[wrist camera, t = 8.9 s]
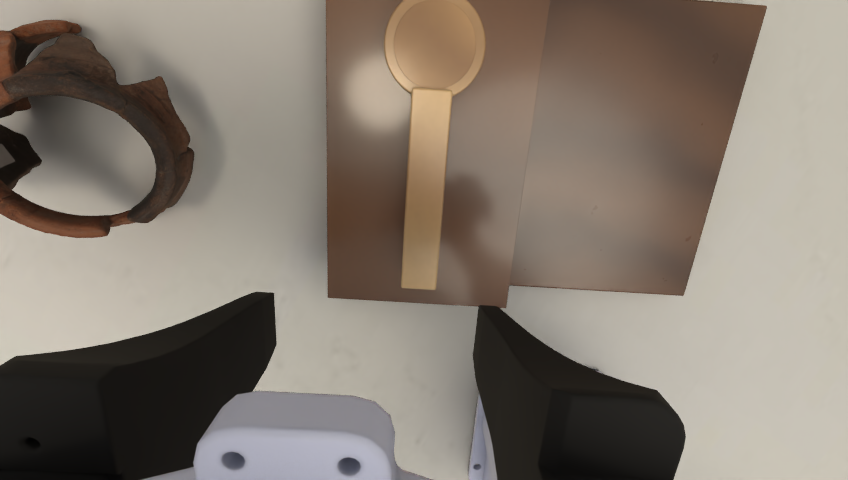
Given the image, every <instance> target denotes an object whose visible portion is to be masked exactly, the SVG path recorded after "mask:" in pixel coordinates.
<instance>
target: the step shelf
mask: <svg viewBox="0 0 848 480" xmlns="http://www.w3.org/2000/svg"><path fill="white" fill-rule="evenodd" d="M402 1H403V0H326V89H327V253H328V298H342V299H359V300H376V301H393V302H410V303H427V304H444V305H461V306H479V305H488V306H497V307H499V308H506V304H507V297H508V290H509V285H513V286H530V287H547V288H563V289H580V290H597V291H613V292H630V293H647V294H663V295H680V296H683V295H684V292H685V289H686V286H687V282H688V279H689V275H690V272H691V268H692V265H693V261H694V258H695V254H696V251H697V248H698V244H699V241H700V237H701V234H702V230H703V227H704V223H705V220H706V216H707V213H708V209H709V206H710V203H711V199H712V196H713V192H714V189H715V185H716V182H717V178H718V175H719V171H720V168H721V164H722V161H723V158H724V154H725V151H726V147H727V144H728V140H729V137H730V133H731V130H732V126H733V123H734V119H735V116H736V113H737V109H738V106H739V102H740V99H741V95H742V92H743V88H744V85H745V81H746V78H747V75H748V71H749V68H750V64H751V61H752V57H753V54H754V50H755V47H756V43H757V40H758V36H759V33H760V30H761V26H762V23H763V19H764V16H765V12H766V9H767V6H764V5H751V4H738V3H725V2H713V1H700V0H467V1H468V2H469V3H470V4H471V5H472V6H473V7H474V8H475V10H476V11H477V13H478V15H479V17H480V19H481V21H482V24H483V27H484V31H485V38H486V50H485V56H484V60H483V64H482V66H481V68H480V71H479V73H478V74H477V76H476V78H475V79H474V80H473V81H472V83H471V84H470V85H469V86H468V87H467V88H466V89H464V90H463V91H462V92H460V93H458V94H457V95H455V96H453V97H452V106H451V118H450V130H449V142H448V154H447V166H446V178H445V190H444V202H443V214H442V226H441V238H440V250H439V262H438V274H437V286H436V289H435V290H426V289H409V288H402V287H401V275H402V256H403V238H404V219H405V201H406V182H407V164H408V145H409V127H410V108H411V94H410V93H408V92H407V91H405V90H404V89H403V88H402V87H401V86H400V85H399V84H398V83H397V81H396V80H395V79H394V77H393V76H392V74H391V72H390V70H389V68H388V65H387V62H386V59H385V54H384V35H385V30H386V26H387V23H388V21H389V19H390V17H391V15H392V13H393V11H394V10H395V8H396V7H397V6H398V5H399V4H400V3H401V2H402Z"/></svg>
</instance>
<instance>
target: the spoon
mask: <svg viewBox="0 0 848 480" xmlns="http://www.w3.org/2000/svg"><path fill="white" fill-rule="evenodd" d="M485 50H486V38H485V31H484V27H483V24H482V21H481V19H480V17H479V15H478V13H477V11H476V10H475V8H474V7H473V6H472V5H471V4H470V3H469V2H468V1H467V0H403V1H402V2H401V3H400V4H399V5H398V6H397V7H396V8H395V10H394V11H393V13H392V15H391V17H390V19H389V21H388V23H387V26H386V30H385V35H384V54H385V59H386V62H387V65H388V68H389V70H390V72H391V74H392V76H393V77H394V79H395V80H396V81H397V83H398V84H399V85H400V86H401V87H402V88H403V89H404V90H405V91H407V92H408V93H410V94H411V108H410V127H409V145H408V164H407V182H406V201H405V219H404V238H403V256H402V275H401V287H402V288H409V289H426V290H435V289H436V286H437V274H438V262H439V250H440V238H441V226H442V214H443V202H444V190H445V178H446V166H447V154H448V142H449V130H450V118H451V106H452V97H453V96H455V95H457V94H458V93H460V92H462V91H463V90H464V89H466V88H467V87H468V86H469V85H470V84H471V83H472V81H473V80H474V79H475V78H476V76H477V74H478V73H479V71H480V68H481V66H482V64H483V60H484V56H485Z"/></svg>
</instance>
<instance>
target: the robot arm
mask: <svg viewBox="0 0 848 480" xmlns="http://www.w3.org/2000/svg"><path fill="white" fill-rule="evenodd" d="M275 347H276V326H275V307H274V293H267V292H254V293H251V294H248V295H246V296H243V297H241V298H239V299H236V300H234V301H232V302H230V303H227V304H225V305H223V306H221V307H218V308H216V309H214V310H212V311H210V312H207V313H205V314H202V315H200V316H197V317H195V318H192V319H190V320H187V321H185V322H182V323H180V324H177V325H174V326H171V327H168V328H165V329H162V330H159V331H156V332H153V333H149V334H146V335H142V336H138V337H134V338H130V339H126V340H122V341H117V342H113V343H108V344H103V345H98V346H93V347H87V348H81V349H75V350H68V351H60V352H52V353H43V354H34V355H24V356H16V357H14V358H12V359H10V360H9V361H7V362H5V363H4V364H2V365H0V480H432V479H429V478H426V477H423V476H420V475H417V474H414V473H411V472H408V471H405V470H402V469H401V468H400V467H398V466H397V464H396V462H395V457H394V441H395V431H394V427H393V424H392V420H391V416H390V415H389V414H388V413H387V412H386V411H385V410H384V409H383V408H381V407H380V406H379V405H378V404H377V403H376V402H374V401H371V400H367V399H363V398H360V397H356V396H347V395H328V394H309V393H290V392H271V391H255V392H252V391H253V389H254V388H255V386H256V385H257V383H258V381H259V380H260V378H261V376H262V375H263V373H264V371H265V370H266V368H267V366H268V363H269V361H270V359H271V357H272V354H273V352H274V349H275ZM473 360H474V369H475V377H476V382H477V386H478V390H479V393H478V401H477V409H476V416H475V424H474V432H473V440H472V447H471V455H470V463H469V470H468V476H469V480H673V479H674V476H675V473H676V470H677V467H678V464H679V461H680V458H681V455H682V452H683V449H684V443H685V437H686V436H685V430H684V425H683V423H682V421H681V419H680V418H679V416H678V414H677V413H676V412H675V411H674V410H673V408H672V407H671V406H670V405H669V404H668V403H667V401H666V400H665V399H664V398H663V397H662V395H661V394H660V393H659V392H658V391H657V390H653V389H650V388H646V387H643V386H639V385H635V384H632V383H628V382H625V381H621V380H619V379H616V378H613V377H610V376H607V375H605V374H603V373H601V372H599V371H595V370H592V369H590V368H588V367H586V366H583V365H581V364H579V363H577V362H575V361H573V360H571V359H569V358H567V357H565V356H564V355H562V354H560V353H558V352H557V351H555V350H553V349H552V348H550V347H548V346H547V345H545V344H544V343H542V342H541V341H540V340H538V339H537V338H535V337H534V336H533V335H531V334H530V333H529V332H527V331H526V330H525V329H524V328H522V327H521V326H520V325H519V324H518V323H516V322H515V321H514V320H513V319H512V318H511V317H509V316H508V315H507V314H506V313H505V312H503V311H502V310H501V309H500V308H499V307H497V306H488V305H479V310H478V318H477V326H476V335H475V343H474V351H473ZM475 464H478V465H475Z"/></svg>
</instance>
